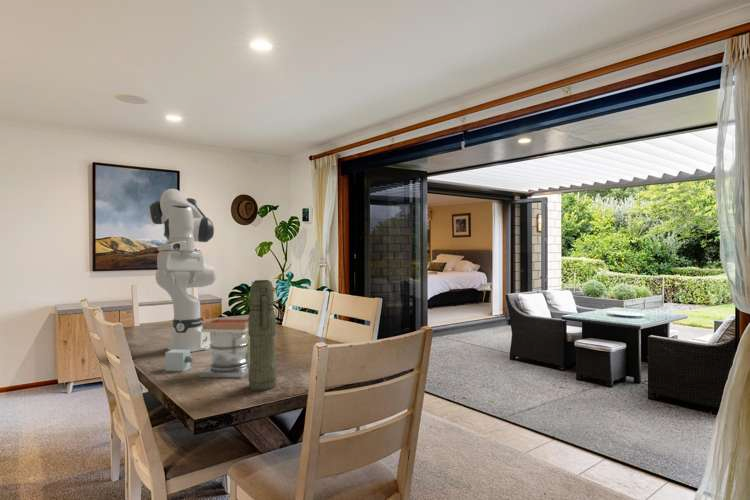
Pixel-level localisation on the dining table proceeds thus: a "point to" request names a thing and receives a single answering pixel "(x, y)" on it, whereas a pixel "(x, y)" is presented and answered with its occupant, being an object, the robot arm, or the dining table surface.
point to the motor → (227, 348)
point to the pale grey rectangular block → (178, 360)
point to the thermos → (262, 336)
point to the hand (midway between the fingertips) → (182, 283)
